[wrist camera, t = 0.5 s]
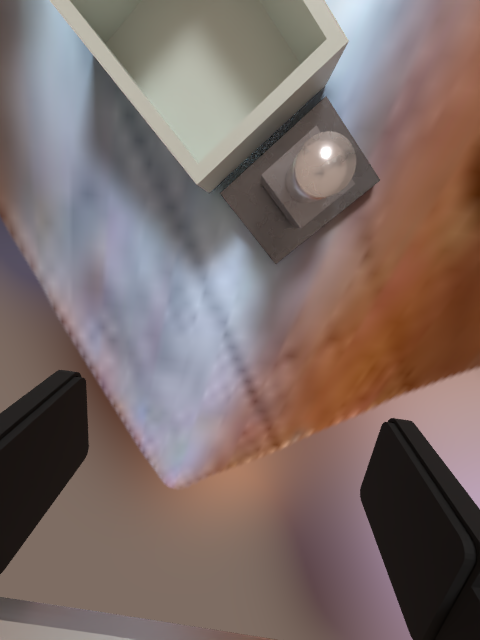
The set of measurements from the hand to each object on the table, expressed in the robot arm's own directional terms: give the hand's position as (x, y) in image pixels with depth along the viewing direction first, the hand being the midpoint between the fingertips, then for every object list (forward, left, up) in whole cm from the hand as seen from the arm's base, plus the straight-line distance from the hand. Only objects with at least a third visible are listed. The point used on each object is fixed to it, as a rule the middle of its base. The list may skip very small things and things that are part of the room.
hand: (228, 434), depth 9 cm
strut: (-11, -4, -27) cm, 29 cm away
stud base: (-11, -4, -29) cm, 31 cm away
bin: (-11, -19, -29) cm, 37 cm away
